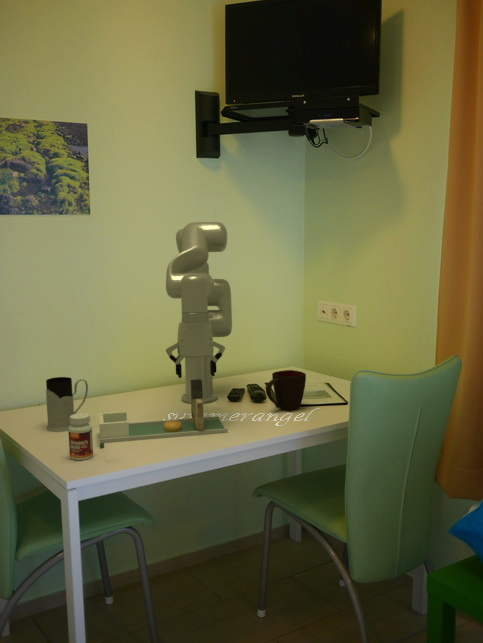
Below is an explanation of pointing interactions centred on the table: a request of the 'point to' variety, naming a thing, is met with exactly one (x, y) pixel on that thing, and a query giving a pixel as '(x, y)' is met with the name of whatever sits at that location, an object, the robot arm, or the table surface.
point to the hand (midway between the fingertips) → (196, 376)
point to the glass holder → (60, 403)
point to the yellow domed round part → (172, 426)
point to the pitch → (150, 428)
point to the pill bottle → (80, 437)
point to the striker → (197, 404)
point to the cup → (287, 389)
